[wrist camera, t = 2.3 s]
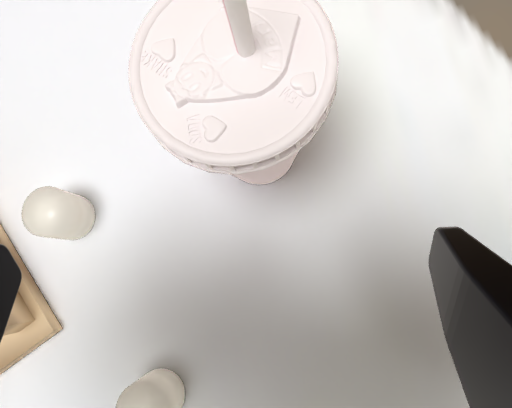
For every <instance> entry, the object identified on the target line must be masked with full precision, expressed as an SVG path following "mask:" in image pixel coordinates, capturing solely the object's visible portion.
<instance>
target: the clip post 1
mask: <svg viewBox="0 0 512 408" xmlns="http://www.w3.org/2000/svg"><path fill="white" fill-rule="evenodd" d="M22 221H23V224H24V226H25V227H26V229H27V230H28V231H29V232H30V233H32V234H33V235H36V236H39V237H47V238H55V239H64V240H77V239H80V238H82V237H84V236H86V235H87V234H88V233H89V232H90V230H91V229H92V227H93V225H94V222H95V210H94V207H93V205H92V204H91V202H90V201H89V200H88V199H86V198H85V197H83V196H80V195H77V194H74V193H71V192H67V191H64V190H61V189H58V188H55V187H50V186H46V187H41V188H38V189H36V190H34V191H33V192H32V193H31V194H30V195H29V196H28V197H27V198H26V200H25V202H24V204H23V207H22Z"/></svg>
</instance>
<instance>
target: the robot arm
mask: <svg viewBox="0 0 512 408" xmlns="http://www.w3.org/2000/svg"><path fill="white" fill-rule="evenodd" d="M429 269H430V274H431V278H432V283H433V287H434V292H435V296H436V300H437V305H438V309H439V313H440V318H441V322H442V327H443V331H444V335H445V338H446V341H447V344H448V348H449V350H450V353H451V356H452V359H453V362H454V364H455V367H456V370H457V373H458V376H459V378H460V381H461V384H462V387H463V389H464V392H465V395H466V398H467V401H468V403H469V406H470V408H512V265H511V264H509V263H508V262H506V261H505V260H504V259H502V258H501V257H500V256H498V255H497V254H495V253H494V252H493V251H491V250H490V249H489V248H487V247H486V246H485V245H483V244H482V243H480V242H479V241H478V240H476V239H475V238H474V237H472V236H471V235H469V234H468V233H467V232H465V231H464V230H463V229H461V228H459V227H439V228H437V229H436V230H435V232H434V236H433V241H432V245H431V250H430V255H429ZM21 280H22V273H21V270H20V268H19V266H18V264H17V263H16V261H15V259H14V258H13V256H12V254H11V253H10V251H9V249H8V248H7V247H6V246H5V245H3V244H0V343H1V340H2V337H3V334H4V332H5V329H6V326H7V323H8V320H9V317H10V314H11V311H12V308H13V305H14V302H15V299H16V296H17V293H18V290H19V287H20V284H21Z"/></svg>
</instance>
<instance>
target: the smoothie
mask: <svg viewBox="0 0 512 408" xmlns="http://www.w3.org/2000/svg"><path fill="white" fill-rule="evenodd" d="M338 62H339V61H338V47H337V41H336V37H335V33H334V30H333V27H332V25H331V22H330V20H329V18H328V16H327V14H326V13H325V11H324V10H323V8H322V6H321V5H320V4H319V3H318V1H317V0H158V1H157V2H156V3H155V4H154V5H153V7H152V8H151V9H150V10H149V12H148V13H147V14H146V16H145V17H144V19H143V21H142V23H141V24H140V26H139V28H138V30H137V33H136V35H135V38H134V41H133V43H132V47H131V52H130V57H129V68H128V75H129V86H130V92H131V95H132V99H133V102H134V105H135V107H136V110H137V112H138V114H139V116H140V117H141V119H142V121H143V122H144V124H145V125H146V127H147V128H148V129H149V130H150V132H151V133H152V134H153V135H154V137H155V138H156V139H157V140H158V142H159V143H160V144H161V145H162V147H163V148H164V149H166V150H167V151H168V152H170V153H171V154H172V155H174V156H175V157H177V158H178V159H179V160H181V161H182V162H184V163H185V164H188V165H191V166H194V167H196V168H199V169H202V170H205V171H207V172H212V173H223V174H230V175H232V176H234V177H236V178H238V179H240V180H242V181H244V182H247V183H250V184H255V185H263V184H269V183H272V182H274V181H276V180H278V179H280V178H281V177H282V176H284V175H285V174H286V173H287V171H288V170H289V169H290V167H291V165H292V164H293V162H294V160H295V158H296V156H297V154H298V152H299V150H300V149H301V148H302V147H303V146H305V145H306V144H307V143H308V142H310V141H311V139H312V138H313V137H314V135H315V134H316V132H317V131H318V130H319V128H320V127H321V126H322V124H323V123H324V121H325V120H326V118H327V116H328V113H329V111H330V108H331V105H332V103H333V100H334V97H335V95H336V86H337V75H338Z"/></svg>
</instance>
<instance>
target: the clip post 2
mask: <svg viewBox="0 0 512 408" xmlns="http://www.w3.org/2000/svg"><path fill="white" fill-rule="evenodd" d="M184 400H185V388H184V385H183V382H182V380H181V379H180V377H179V376H178V375H177V374H176V373H174V372H173V371H171V370H169V369H164V368H158V369H154V370H152V371H150V372H148V373H147V374H145V375H144V376H142V377H141V378H140V379H138V380H137V381H135V382H134V383H133V384H131V385H130V386H128V387H127V388H126V389H125V390H124V391H123V392H122V393H121V395H120V396H119V398H118V401H117V404H116V408H182V406H183V404H184Z"/></svg>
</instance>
